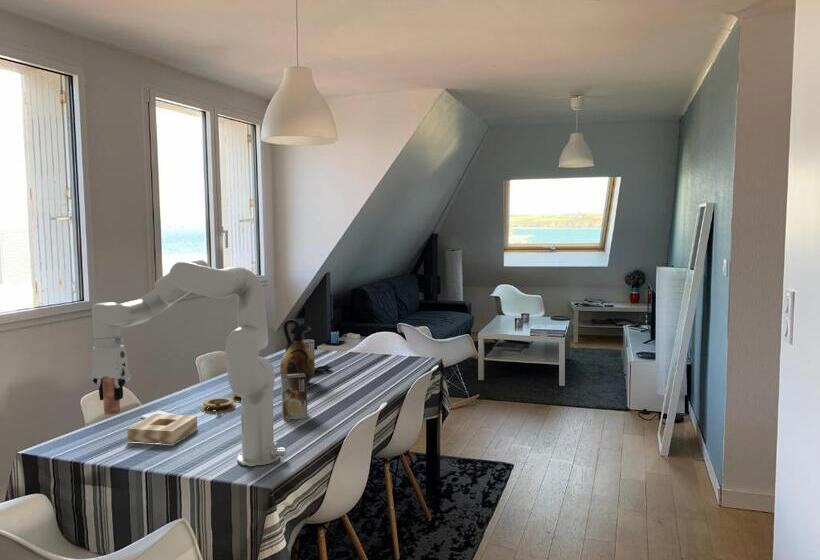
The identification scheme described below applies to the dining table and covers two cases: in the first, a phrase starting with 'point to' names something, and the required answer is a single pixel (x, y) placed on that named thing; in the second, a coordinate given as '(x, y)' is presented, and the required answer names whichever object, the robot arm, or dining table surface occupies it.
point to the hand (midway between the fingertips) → (111, 398)
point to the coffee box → (294, 396)
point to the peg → (109, 397)
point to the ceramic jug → (297, 352)
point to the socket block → (162, 429)
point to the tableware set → (220, 404)
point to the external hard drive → (155, 413)
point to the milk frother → (310, 346)
